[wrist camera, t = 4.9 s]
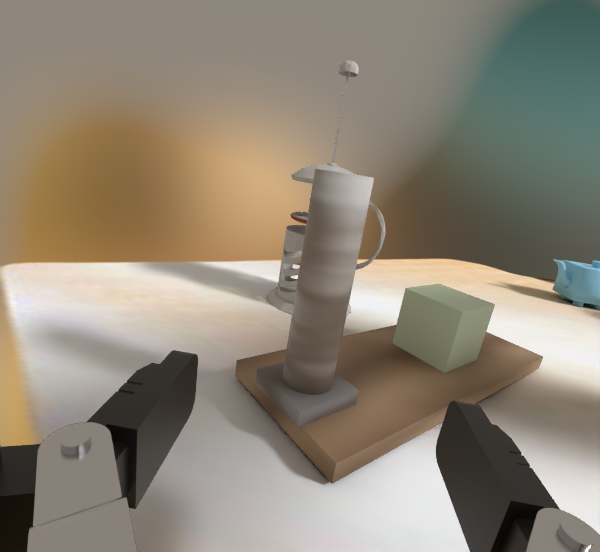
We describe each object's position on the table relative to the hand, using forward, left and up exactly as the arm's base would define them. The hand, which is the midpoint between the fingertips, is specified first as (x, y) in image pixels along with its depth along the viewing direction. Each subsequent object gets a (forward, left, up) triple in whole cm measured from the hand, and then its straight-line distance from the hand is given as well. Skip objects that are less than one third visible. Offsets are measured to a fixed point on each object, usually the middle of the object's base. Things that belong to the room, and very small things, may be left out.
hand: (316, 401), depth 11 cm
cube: (+7, -20, -6) cm, 22 cm away
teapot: (+9, -67, -8) cm, 68 cm away
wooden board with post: (+7, -17, -7) cm, 20 cm away
